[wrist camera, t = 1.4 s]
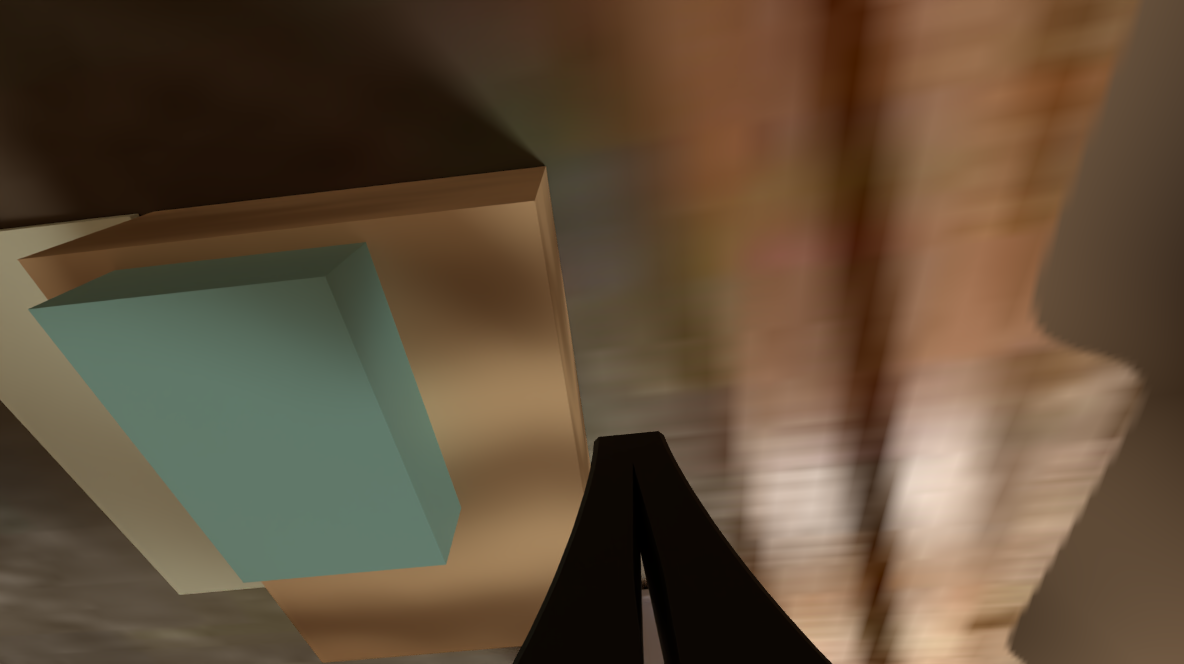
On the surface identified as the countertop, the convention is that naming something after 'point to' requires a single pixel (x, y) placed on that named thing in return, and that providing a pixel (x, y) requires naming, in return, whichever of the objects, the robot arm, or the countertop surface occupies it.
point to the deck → (423, 387)
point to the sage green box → (270, 406)
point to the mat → (93, 425)
